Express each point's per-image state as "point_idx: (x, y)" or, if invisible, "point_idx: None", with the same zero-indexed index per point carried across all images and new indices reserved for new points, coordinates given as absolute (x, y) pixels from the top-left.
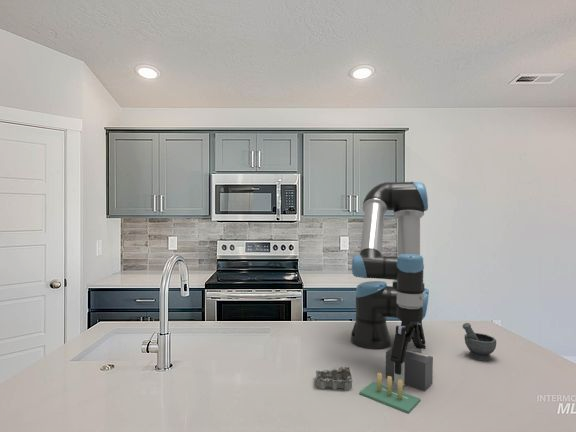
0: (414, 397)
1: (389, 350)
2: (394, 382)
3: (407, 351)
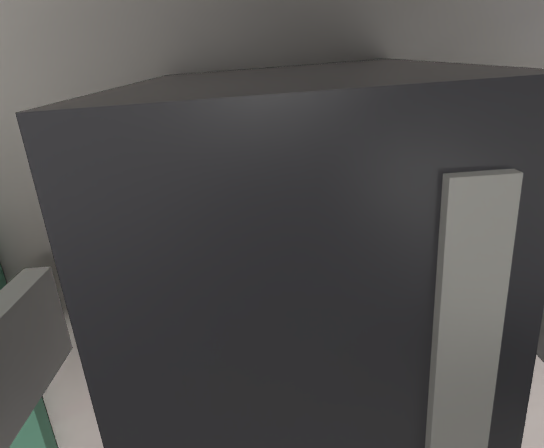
0: (29, 435)
1: (177, 138)
2: (19, 277)
3: (425, 440)
